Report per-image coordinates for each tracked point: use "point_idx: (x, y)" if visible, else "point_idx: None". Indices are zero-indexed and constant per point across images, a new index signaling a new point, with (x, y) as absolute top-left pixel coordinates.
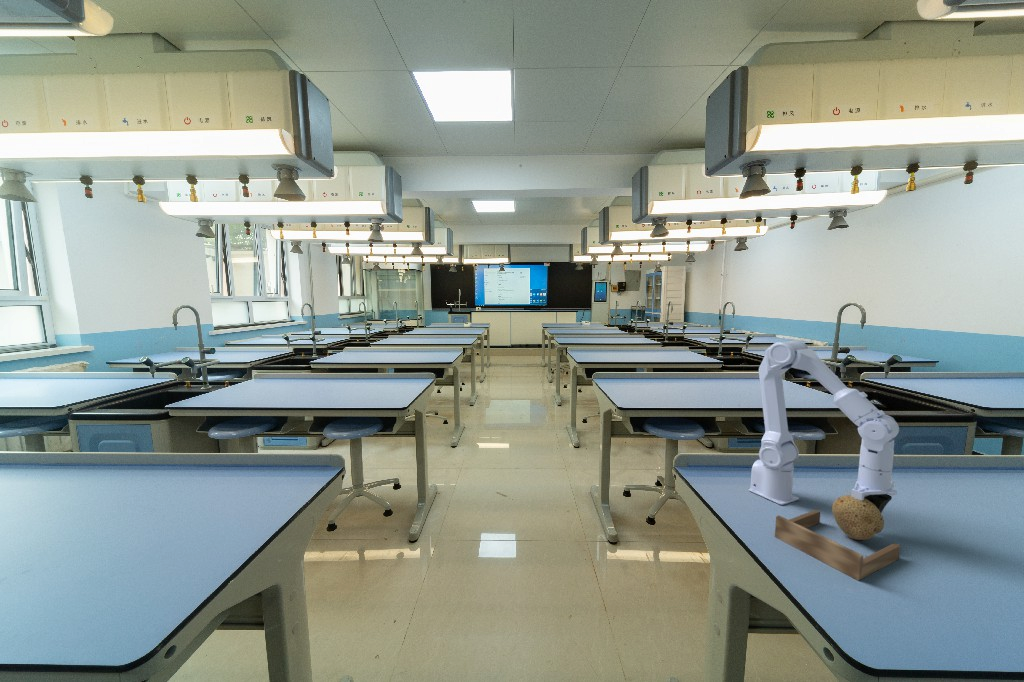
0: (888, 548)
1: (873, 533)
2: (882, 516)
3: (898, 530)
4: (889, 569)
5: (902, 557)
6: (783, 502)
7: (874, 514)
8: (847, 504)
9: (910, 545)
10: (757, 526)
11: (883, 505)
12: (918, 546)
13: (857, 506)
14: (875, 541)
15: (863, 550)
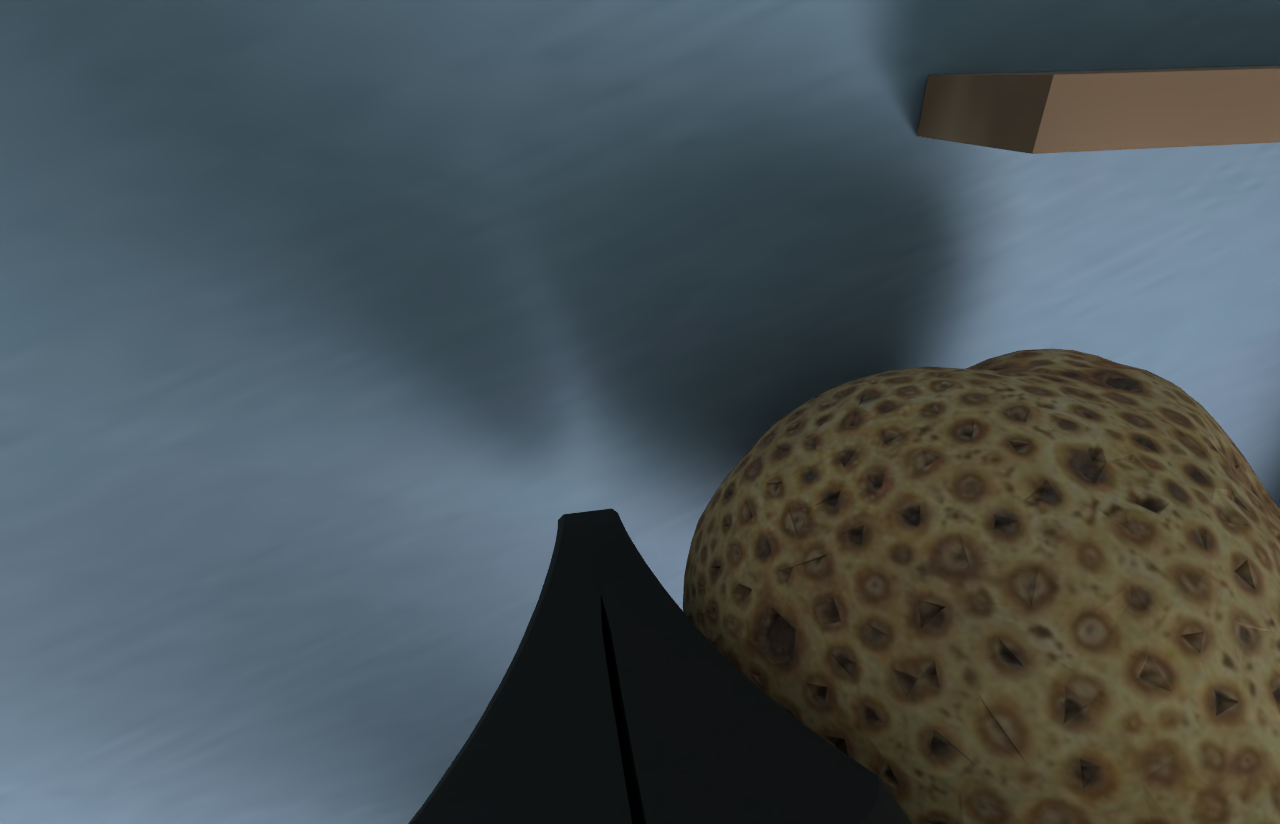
0: (1258, 110)
1: (1078, 361)
2: (1003, 508)
3: (207, 408)
4: (1236, 16)
5: (853, 74)
6: None
7: (1266, 558)
8: None
9: (448, 173)
10: None
11: (610, 730)
12: (365, 115)
13: None
14: (734, 361)
15: (1017, 310)
